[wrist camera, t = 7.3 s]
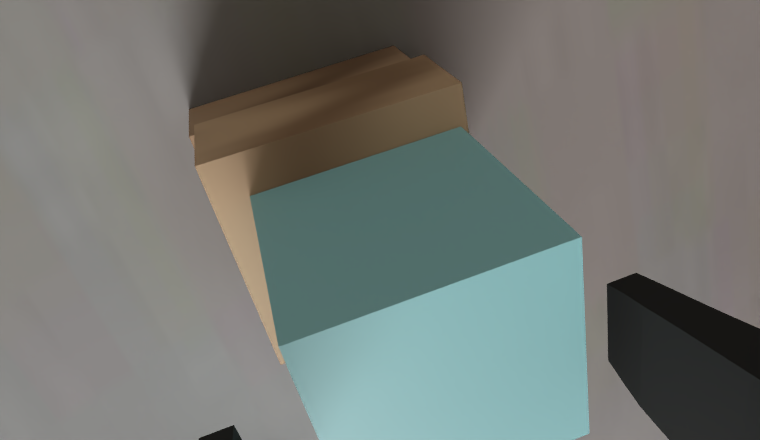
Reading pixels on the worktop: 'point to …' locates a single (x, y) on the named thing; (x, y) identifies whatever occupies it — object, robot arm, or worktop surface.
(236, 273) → the worktop surface
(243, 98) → the walnut slab lower
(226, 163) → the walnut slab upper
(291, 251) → the teal cube
